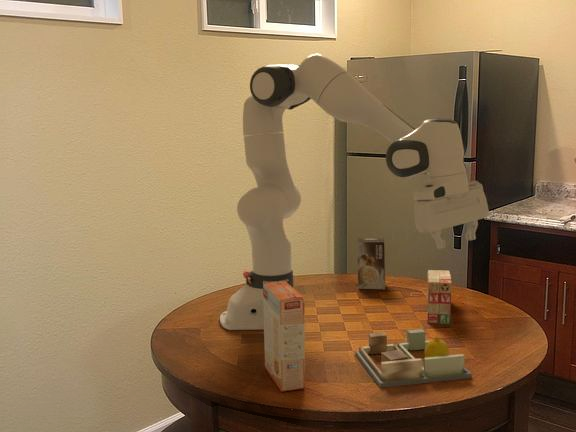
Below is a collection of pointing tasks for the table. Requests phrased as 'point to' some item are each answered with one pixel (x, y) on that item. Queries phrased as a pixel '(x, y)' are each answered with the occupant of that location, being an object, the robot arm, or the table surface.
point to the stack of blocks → (439, 296)
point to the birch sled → (390, 368)
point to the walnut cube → (393, 356)
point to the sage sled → (432, 364)
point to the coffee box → (371, 263)
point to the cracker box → (284, 335)
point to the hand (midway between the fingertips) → (456, 244)
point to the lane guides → (412, 381)
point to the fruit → (436, 348)
